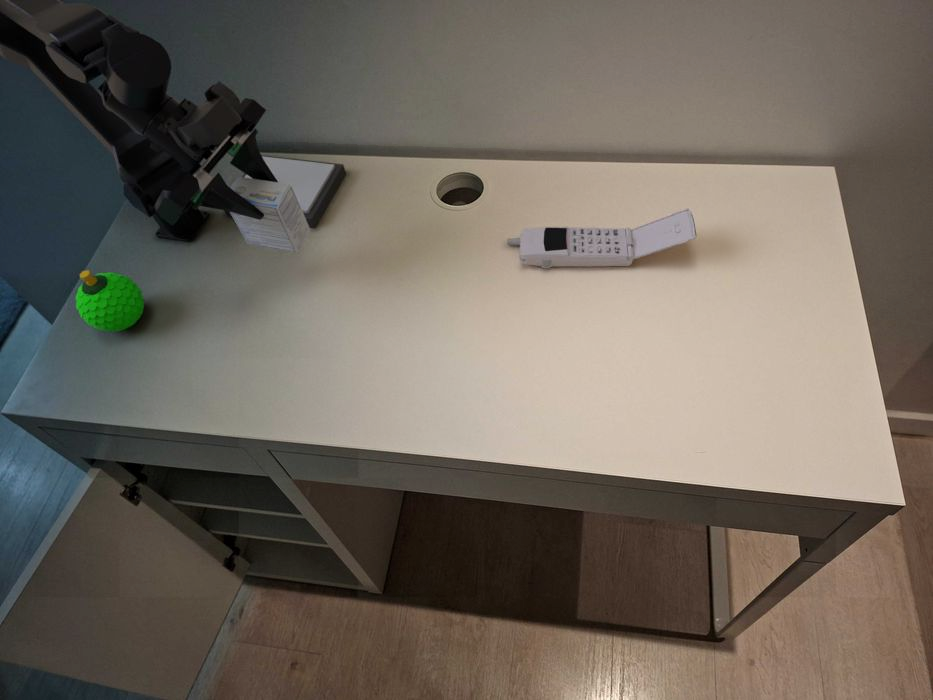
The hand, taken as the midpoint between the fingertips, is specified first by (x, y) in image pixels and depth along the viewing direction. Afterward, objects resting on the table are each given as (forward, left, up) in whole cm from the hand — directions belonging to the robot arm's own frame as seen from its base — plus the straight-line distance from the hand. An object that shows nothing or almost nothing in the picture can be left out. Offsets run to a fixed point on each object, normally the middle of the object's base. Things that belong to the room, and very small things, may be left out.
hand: (272, 204), depth 76 cm
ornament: (-22, -13, -14) cm, 29 cm away
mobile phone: (+41, +12, -14) cm, 44 cm away
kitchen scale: (-10, +16, -13) cm, 23 cm away
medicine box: (-1, 0, -7) cm, 7 cm away
